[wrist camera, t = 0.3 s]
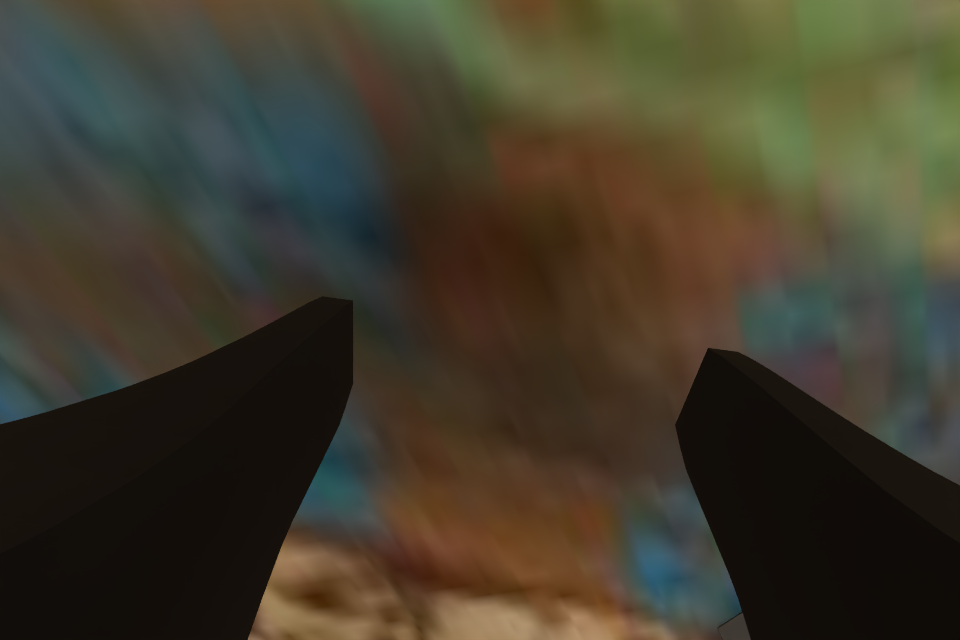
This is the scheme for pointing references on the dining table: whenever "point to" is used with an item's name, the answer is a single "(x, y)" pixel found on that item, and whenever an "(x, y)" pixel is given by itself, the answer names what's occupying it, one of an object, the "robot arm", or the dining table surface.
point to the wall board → (735, 629)
